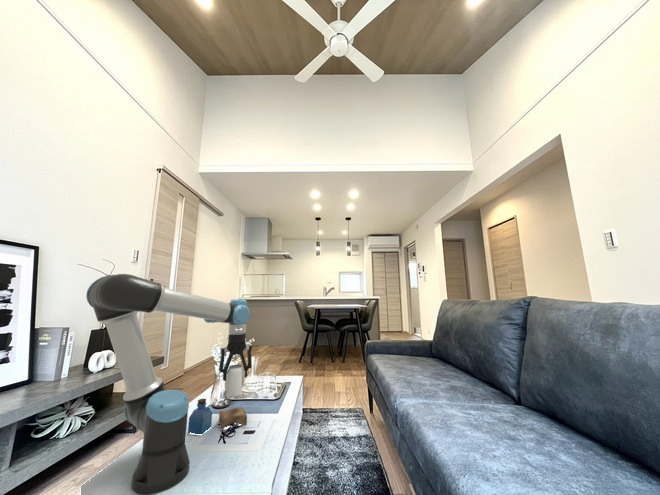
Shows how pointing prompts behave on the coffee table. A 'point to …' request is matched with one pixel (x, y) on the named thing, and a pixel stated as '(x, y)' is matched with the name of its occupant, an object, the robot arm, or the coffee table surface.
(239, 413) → the plinth
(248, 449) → the coffee table surface
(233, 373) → the can
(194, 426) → the perfume bottle
